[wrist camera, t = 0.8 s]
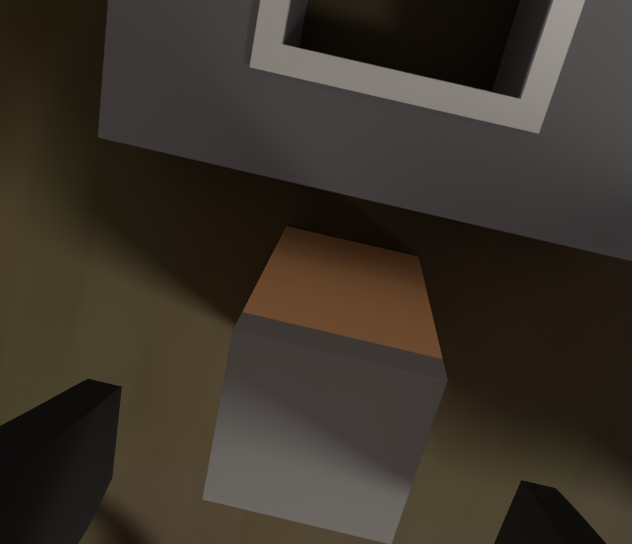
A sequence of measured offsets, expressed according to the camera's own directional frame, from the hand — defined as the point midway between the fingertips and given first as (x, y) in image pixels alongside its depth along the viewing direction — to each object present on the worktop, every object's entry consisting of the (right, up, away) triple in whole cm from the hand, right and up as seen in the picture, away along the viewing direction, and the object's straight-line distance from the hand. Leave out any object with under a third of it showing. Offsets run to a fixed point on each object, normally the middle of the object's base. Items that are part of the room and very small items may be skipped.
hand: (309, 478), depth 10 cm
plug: (+1, +3, +8) cm, 8 cm away
